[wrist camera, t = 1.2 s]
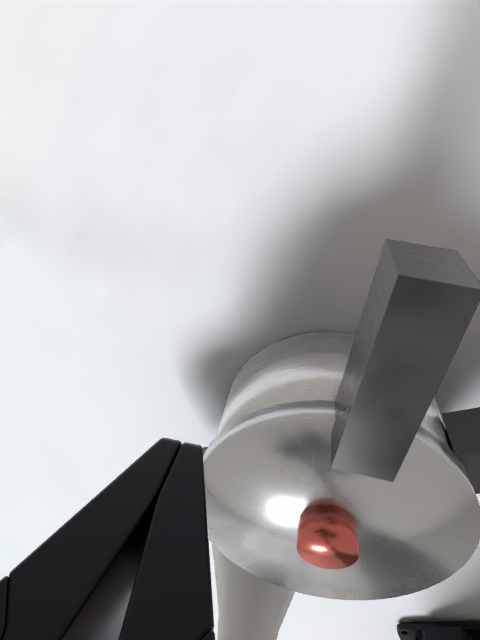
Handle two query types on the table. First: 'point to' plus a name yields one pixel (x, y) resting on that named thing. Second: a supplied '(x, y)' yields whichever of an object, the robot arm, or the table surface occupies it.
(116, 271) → the table surface
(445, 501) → the lid
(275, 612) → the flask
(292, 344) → the pot
